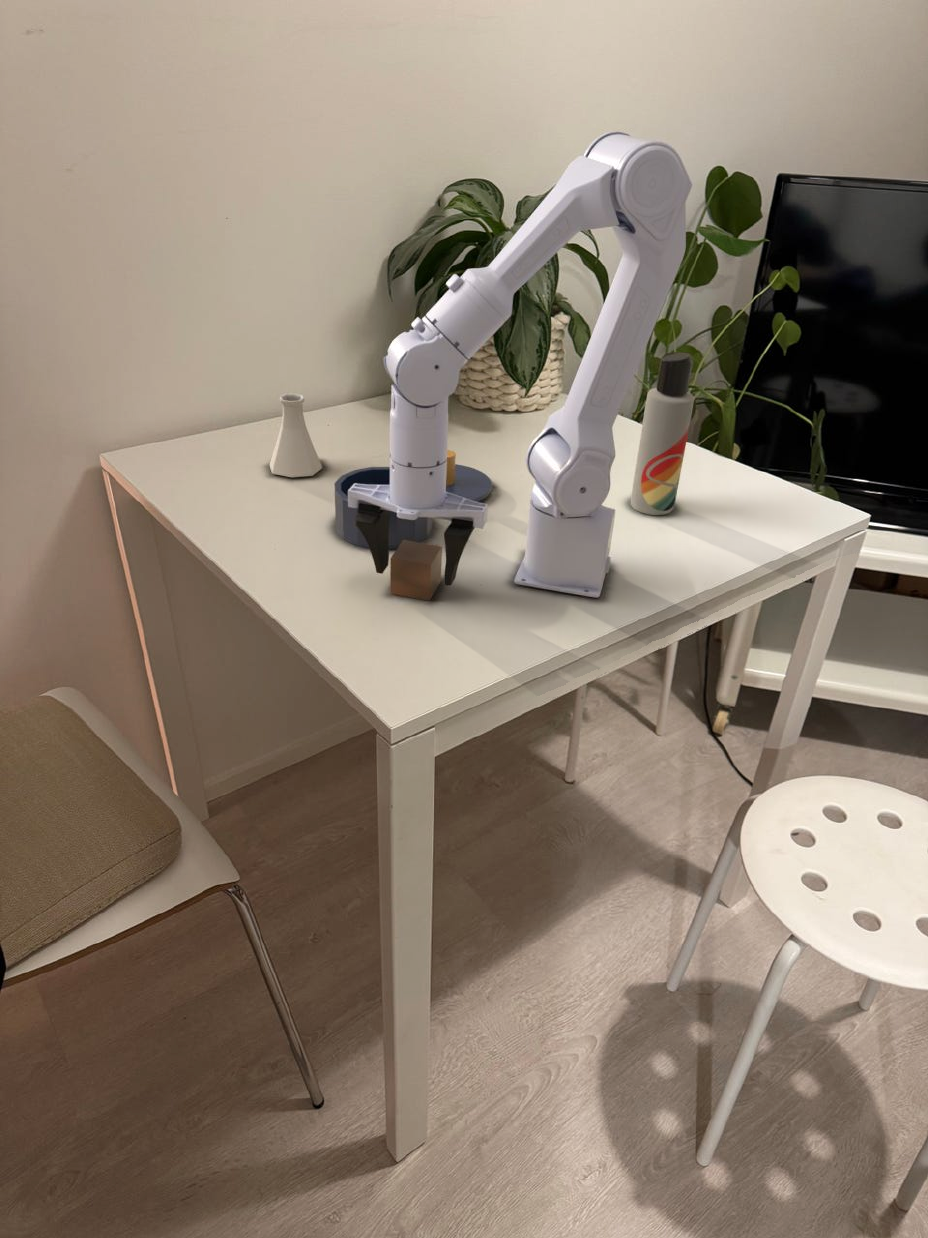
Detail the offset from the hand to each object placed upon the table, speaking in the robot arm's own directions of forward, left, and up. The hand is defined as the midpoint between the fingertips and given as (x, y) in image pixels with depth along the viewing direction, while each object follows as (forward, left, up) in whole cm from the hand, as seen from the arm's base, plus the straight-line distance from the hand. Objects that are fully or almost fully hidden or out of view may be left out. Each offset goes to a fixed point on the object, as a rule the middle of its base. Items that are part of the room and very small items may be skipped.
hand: (415, 575), depth 98 cm
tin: (+8, -13, -2) cm, 15 cm away
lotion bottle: (-23, -30, -2) cm, 38 cm away
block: (0, 0, -2) cm, 2 cm away
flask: (+25, -25, -2) cm, 35 cm away
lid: (+4, -26, -1) cm, 26 cm away
